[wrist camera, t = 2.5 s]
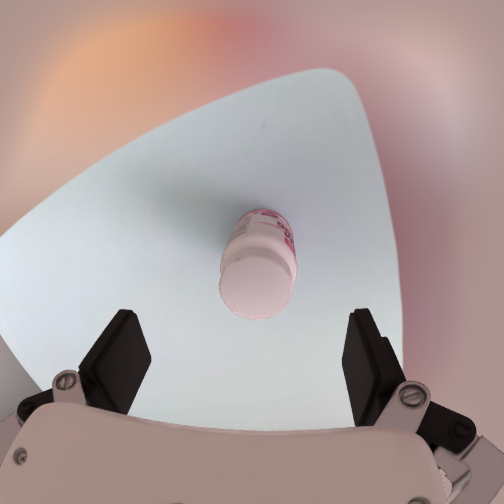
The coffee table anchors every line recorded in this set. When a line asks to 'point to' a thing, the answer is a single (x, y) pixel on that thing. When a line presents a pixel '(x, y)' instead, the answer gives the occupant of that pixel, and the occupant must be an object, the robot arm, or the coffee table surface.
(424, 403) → the robot arm
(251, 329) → the coffee table surface
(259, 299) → the pill bottle
